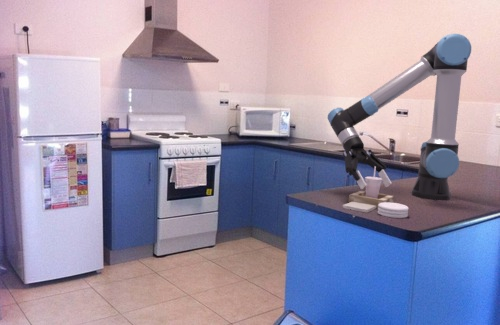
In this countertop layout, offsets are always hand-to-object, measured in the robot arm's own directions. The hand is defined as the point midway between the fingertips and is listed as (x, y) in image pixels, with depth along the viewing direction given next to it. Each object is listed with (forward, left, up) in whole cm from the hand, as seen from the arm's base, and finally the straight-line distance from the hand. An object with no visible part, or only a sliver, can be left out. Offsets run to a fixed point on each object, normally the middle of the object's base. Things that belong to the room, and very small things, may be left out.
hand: (376, 186), depth 171 cm
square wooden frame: (-1, -2, -7) cm, 7 cm away
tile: (+12, -2, -7) cm, 14 cm away
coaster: (+12, +10, -7) cm, 17 cm away
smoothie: (-1, -2, -7) cm, 7 cm away
